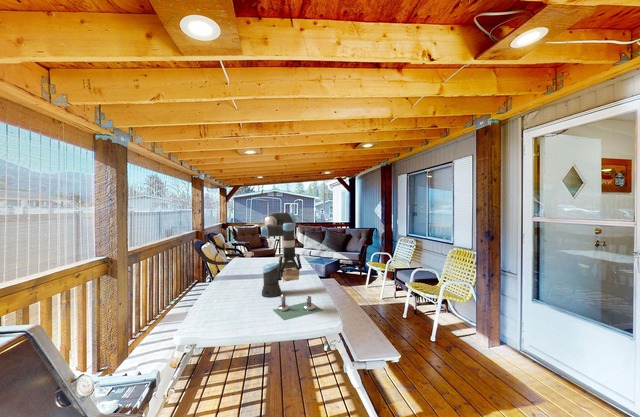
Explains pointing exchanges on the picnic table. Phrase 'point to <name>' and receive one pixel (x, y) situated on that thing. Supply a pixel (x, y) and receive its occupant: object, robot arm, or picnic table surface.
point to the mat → (296, 311)
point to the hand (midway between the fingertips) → (290, 280)
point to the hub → (309, 305)
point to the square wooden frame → (291, 274)
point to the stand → (283, 304)
